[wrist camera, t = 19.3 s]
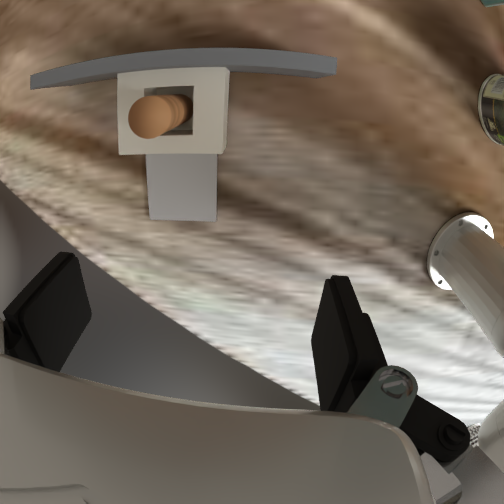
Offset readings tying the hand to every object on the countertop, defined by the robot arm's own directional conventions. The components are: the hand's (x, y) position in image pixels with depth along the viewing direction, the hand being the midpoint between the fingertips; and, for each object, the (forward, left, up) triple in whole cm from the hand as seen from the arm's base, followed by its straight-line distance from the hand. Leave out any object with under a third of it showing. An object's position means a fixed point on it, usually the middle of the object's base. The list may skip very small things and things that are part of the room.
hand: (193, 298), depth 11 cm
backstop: (+6, -2, -25) cm, 26 cm away
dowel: (+6, -5, -23) cm, 24 cm away
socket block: (+6, -5, -24) cm, 25 cm away
